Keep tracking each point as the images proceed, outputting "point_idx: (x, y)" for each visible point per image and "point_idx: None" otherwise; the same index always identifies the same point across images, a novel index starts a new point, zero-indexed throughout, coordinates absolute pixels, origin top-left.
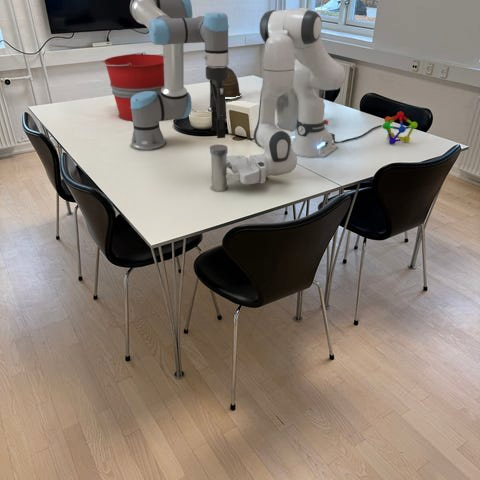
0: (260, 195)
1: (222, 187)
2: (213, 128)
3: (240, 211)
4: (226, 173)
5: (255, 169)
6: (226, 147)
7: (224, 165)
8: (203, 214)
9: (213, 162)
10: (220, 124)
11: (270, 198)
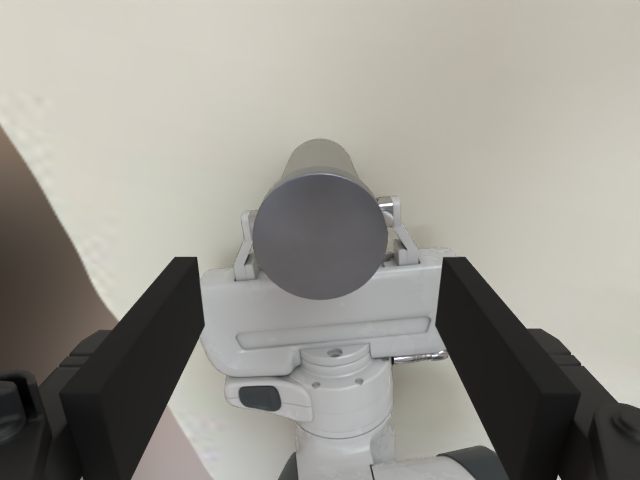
0: None
1: None
2: (447, 277)
3: (89, 207)
4: None
5: (240, 359)
6: (306, 292)
7: None
8: (67, 45)
9: (292, 170)
10: (54, 382)
11: None
